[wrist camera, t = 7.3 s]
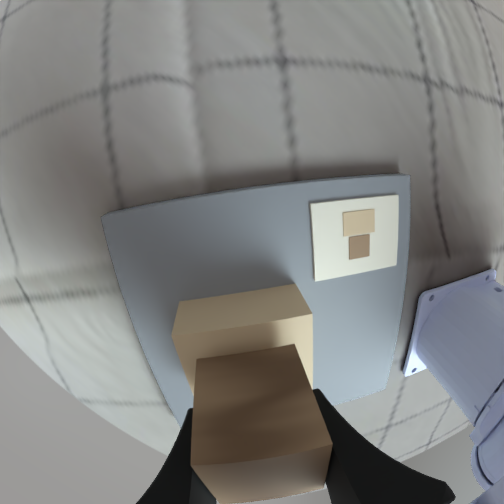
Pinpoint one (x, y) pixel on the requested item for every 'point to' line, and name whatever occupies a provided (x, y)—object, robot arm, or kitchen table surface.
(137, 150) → the kitchen table surface
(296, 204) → the build board
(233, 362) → the walnut block
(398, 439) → the kitchen table surface
